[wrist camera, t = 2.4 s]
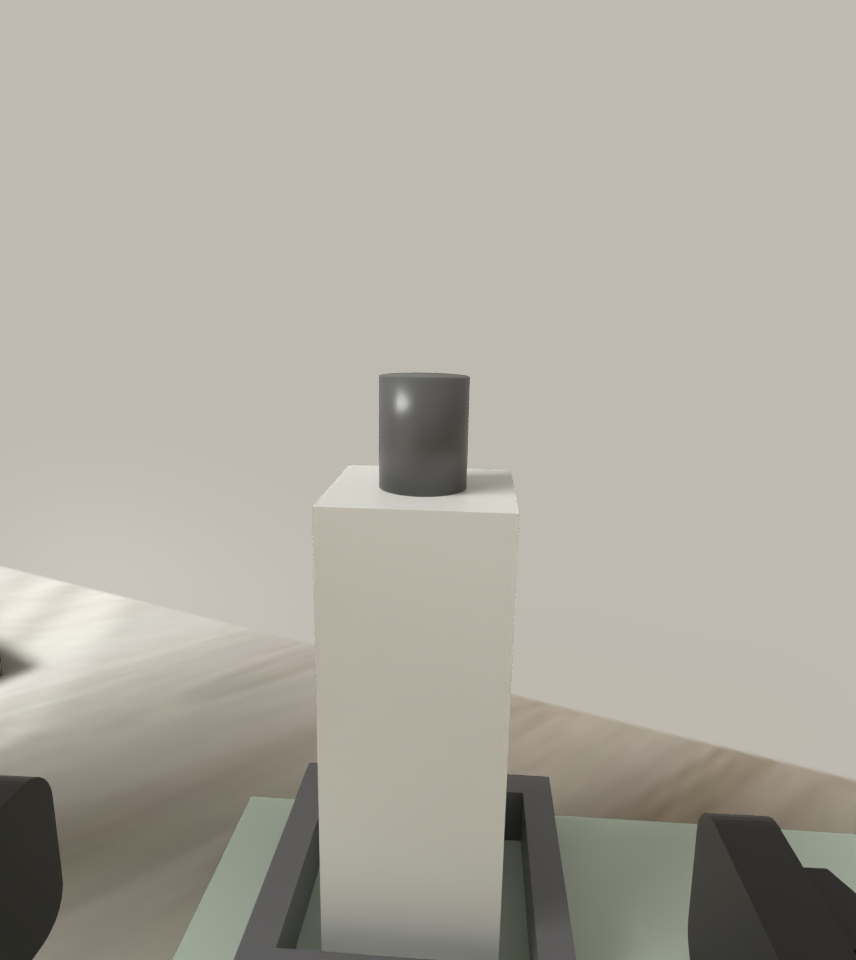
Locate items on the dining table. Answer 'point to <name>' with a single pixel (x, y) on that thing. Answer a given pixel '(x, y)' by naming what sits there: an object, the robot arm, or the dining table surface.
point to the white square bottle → (414, 684)
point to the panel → (525, 883)
